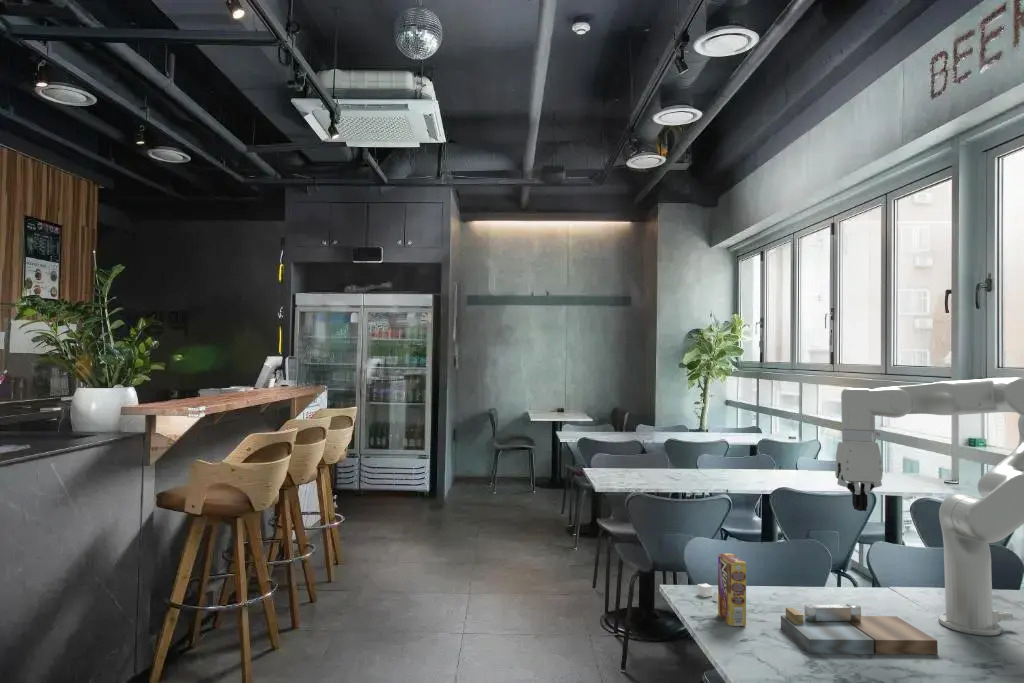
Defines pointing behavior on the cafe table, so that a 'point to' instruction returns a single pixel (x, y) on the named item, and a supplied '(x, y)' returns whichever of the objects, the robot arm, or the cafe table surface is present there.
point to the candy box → (732, 589)
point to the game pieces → (707, 591)
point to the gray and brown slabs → (857, 635)
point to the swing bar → (832, 612)
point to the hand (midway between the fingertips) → (860, 509)
